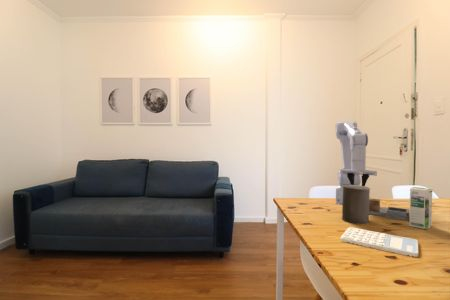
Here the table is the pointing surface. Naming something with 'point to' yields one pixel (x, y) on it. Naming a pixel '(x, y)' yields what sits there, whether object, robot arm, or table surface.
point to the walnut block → (374, 204)
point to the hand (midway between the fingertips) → (357, 190)
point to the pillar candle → (355, 204)
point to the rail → (393, 213)
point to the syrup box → (420, 207)
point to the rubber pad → (383, 208)
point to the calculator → (381, 241)
